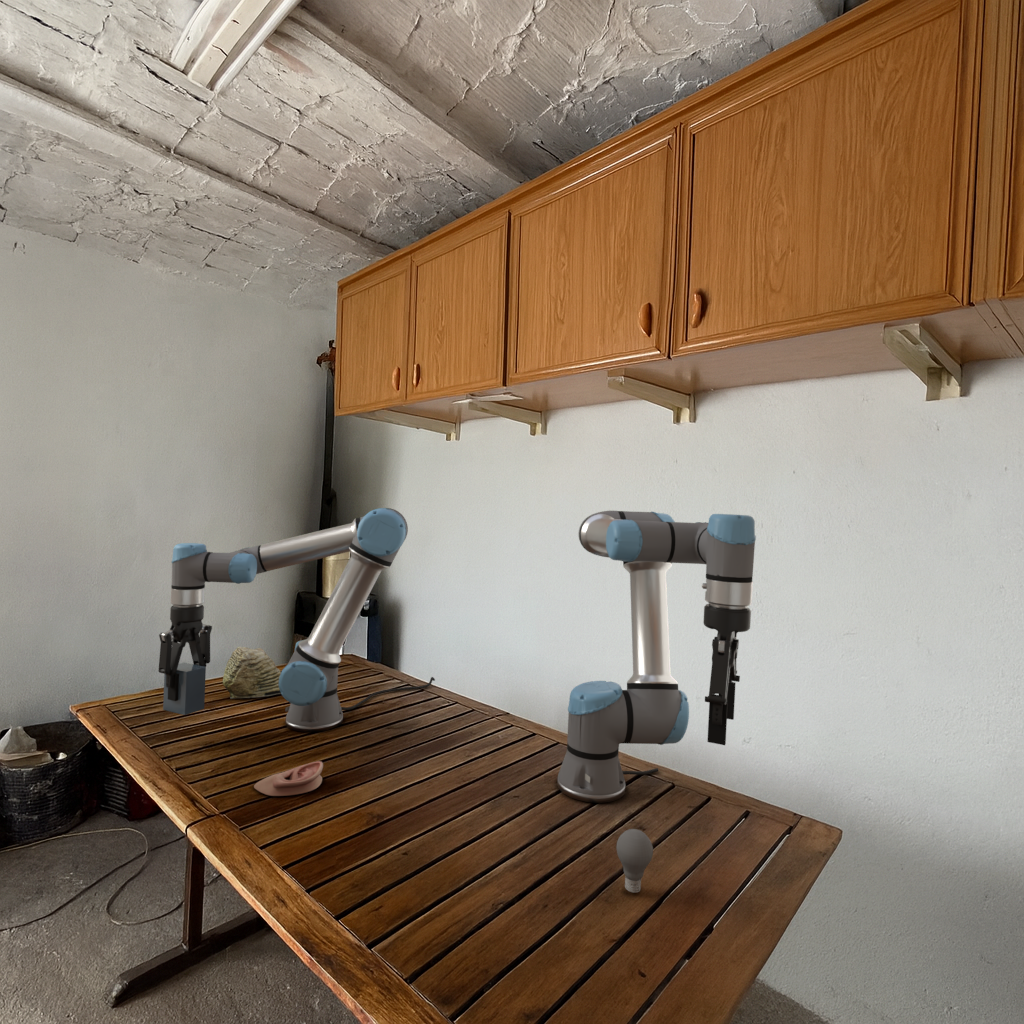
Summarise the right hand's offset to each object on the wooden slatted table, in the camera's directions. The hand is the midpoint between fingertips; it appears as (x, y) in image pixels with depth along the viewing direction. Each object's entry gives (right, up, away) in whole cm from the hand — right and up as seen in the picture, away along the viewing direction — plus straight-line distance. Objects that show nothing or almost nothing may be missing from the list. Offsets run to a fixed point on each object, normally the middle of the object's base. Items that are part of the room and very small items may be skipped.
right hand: (721, 729), depth 107 cm
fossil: (-116, -20, +91) cm, 149 cm away
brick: (-118, -13, +52) cm, 130 cm away
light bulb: (-15, -26, -2) cm, 31 cm away
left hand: (-118, -9, +52) cm, 130 cm away
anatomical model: (-84, -23, +31) cm, 93 cm away
